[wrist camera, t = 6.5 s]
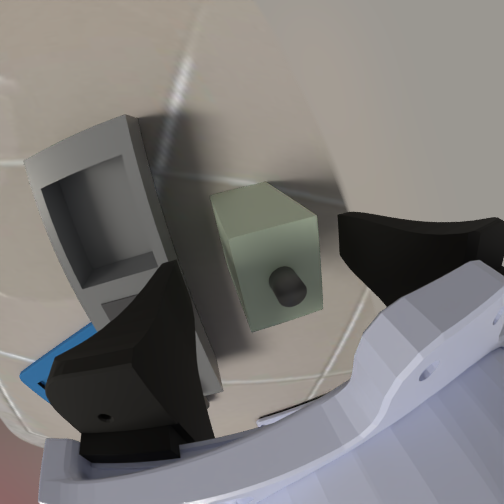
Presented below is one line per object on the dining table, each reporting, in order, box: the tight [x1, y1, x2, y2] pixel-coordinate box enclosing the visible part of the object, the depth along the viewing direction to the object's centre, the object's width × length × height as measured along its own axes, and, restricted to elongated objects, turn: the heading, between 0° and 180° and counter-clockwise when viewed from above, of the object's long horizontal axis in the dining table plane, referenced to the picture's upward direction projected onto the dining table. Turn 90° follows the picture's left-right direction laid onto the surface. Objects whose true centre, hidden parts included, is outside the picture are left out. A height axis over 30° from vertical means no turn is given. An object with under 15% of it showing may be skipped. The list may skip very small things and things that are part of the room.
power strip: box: [24, 115, 223, 409], centre depth 14 cm, size 21×5×4 cm, turn 11°
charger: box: [210, 182, 323, 332], centre depth 12 cm, size 4×3×7 cm
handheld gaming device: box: [20, 322, 97, 403], centre depth 17 cm, size 8×1×15 cm
